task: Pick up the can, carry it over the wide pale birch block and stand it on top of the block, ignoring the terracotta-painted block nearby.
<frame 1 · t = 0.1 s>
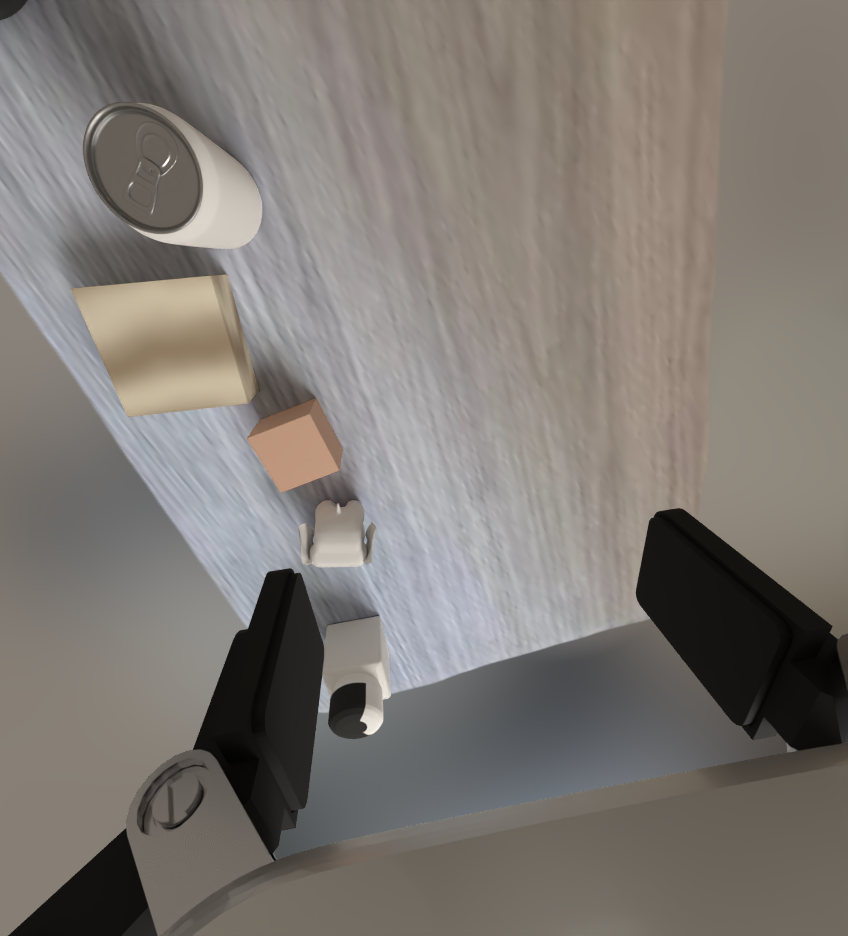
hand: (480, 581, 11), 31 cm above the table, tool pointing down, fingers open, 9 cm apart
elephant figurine: (341, 520, 46), on the table
birch block: (186, 342, 36), on the table
medicine bottle: (358, 636, 55), on the table
terracotta block: (302, 434, 41), on the table
can: (221, 203, 32), on the table
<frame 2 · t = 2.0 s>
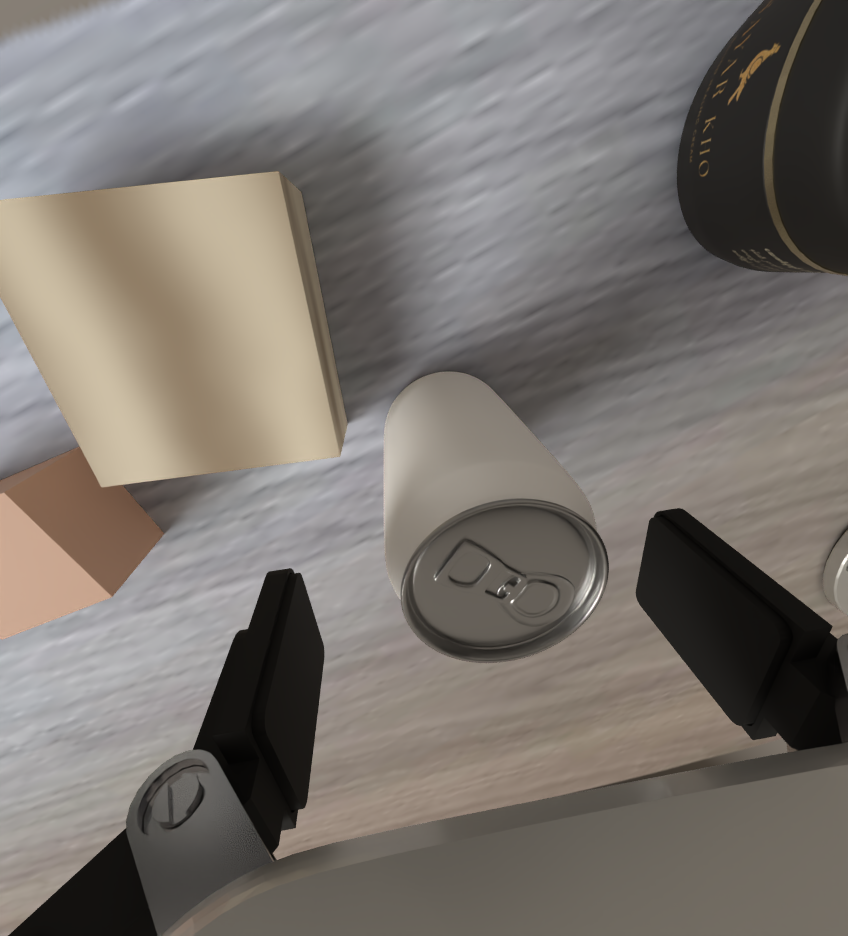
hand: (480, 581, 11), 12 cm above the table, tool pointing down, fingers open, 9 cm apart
jar: (771, 143, 17), on the table
birch block: (217, 335, 18), on the table
terracotta block: (80, 510, 22), on the table
can: (444, 428, 22), on the table
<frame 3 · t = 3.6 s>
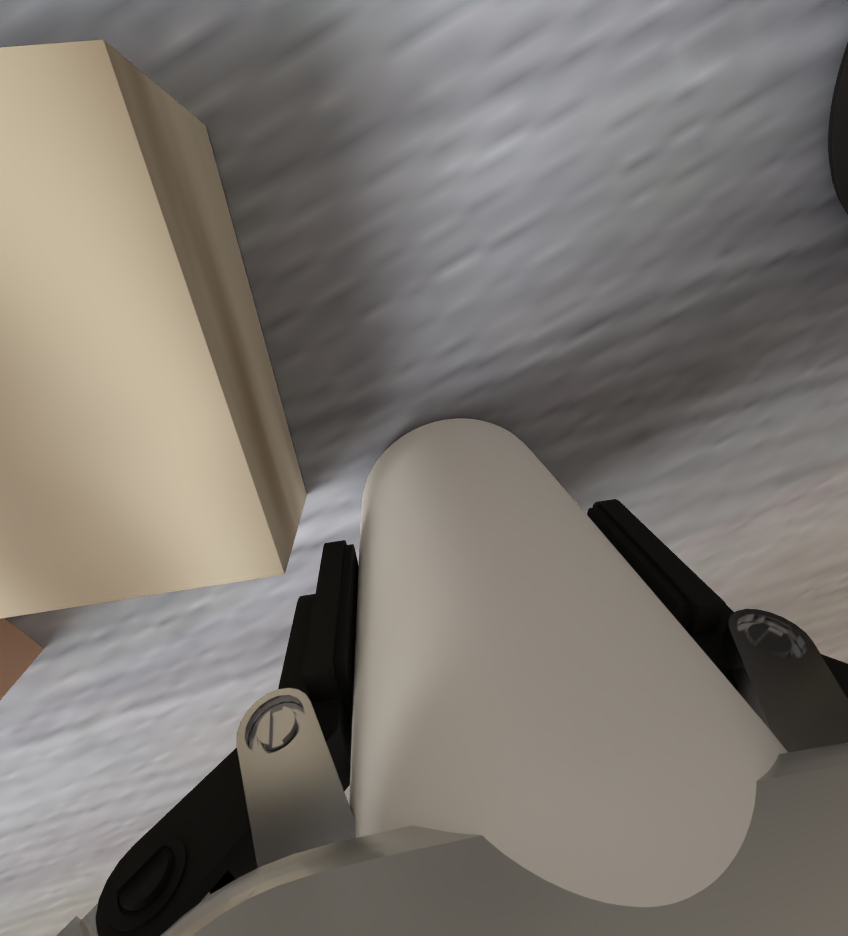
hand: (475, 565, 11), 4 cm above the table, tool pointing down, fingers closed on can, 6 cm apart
birch block: (85, 369, 11), on the table
can: (450, 495, 15), on the table, touching gripper
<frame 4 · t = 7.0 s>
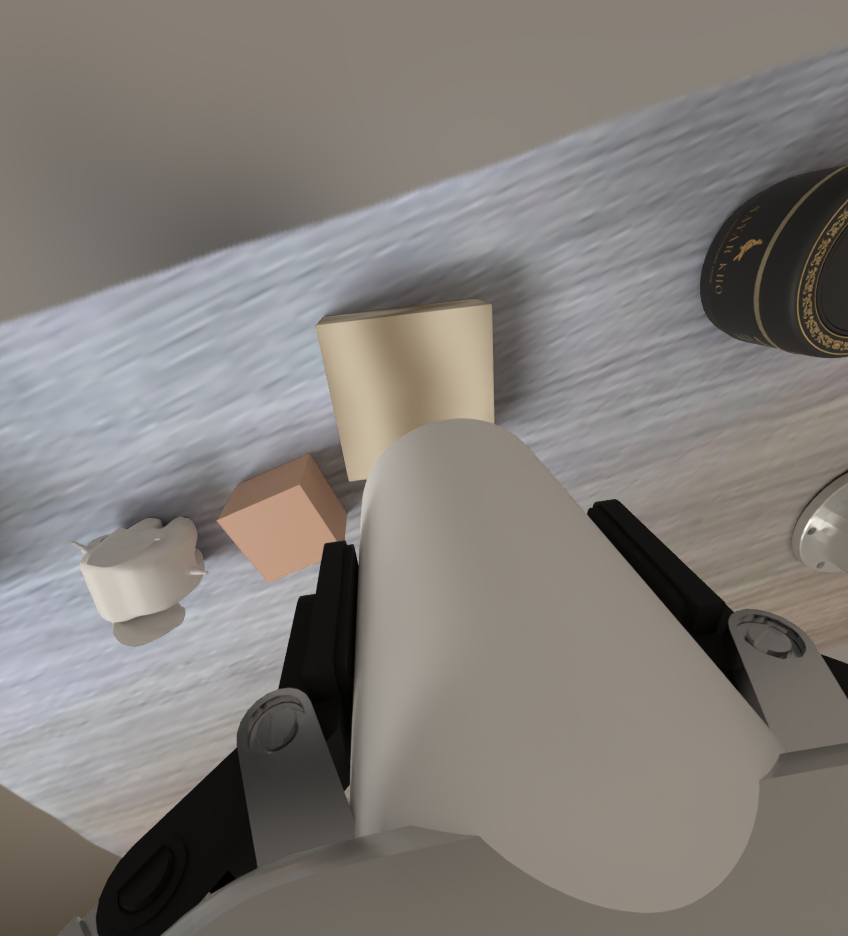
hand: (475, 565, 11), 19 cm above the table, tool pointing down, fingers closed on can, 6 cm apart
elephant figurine: (161, 539, 32), on the table
jar: (756, 264, 28), on the table
birch block: (409, 383, 28), on the table
terracotta block: (294, 498, 32), on the table
can: (450, 495, 15), point 16 cm above the table, touching gripper
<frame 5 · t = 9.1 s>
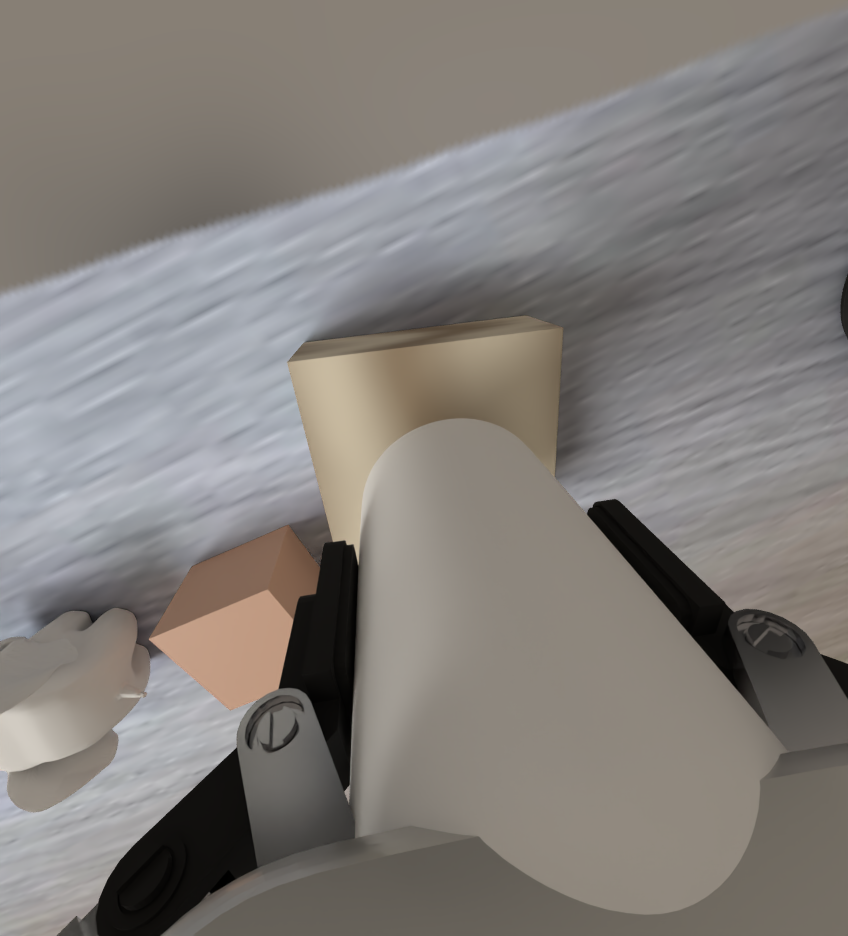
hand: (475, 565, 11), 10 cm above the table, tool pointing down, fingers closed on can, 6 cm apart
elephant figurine: (92, 635, 24), on the table
birch block: (427, 432, 20), on the table
terracotta block: (270, 581, 23), on the table
can: (450, 495, 15), point 6 cm above the table, touching gripper
when the fingers open (9 cm above the table, at t = 10.6 s): can drops 2 cm, resting on birch block.
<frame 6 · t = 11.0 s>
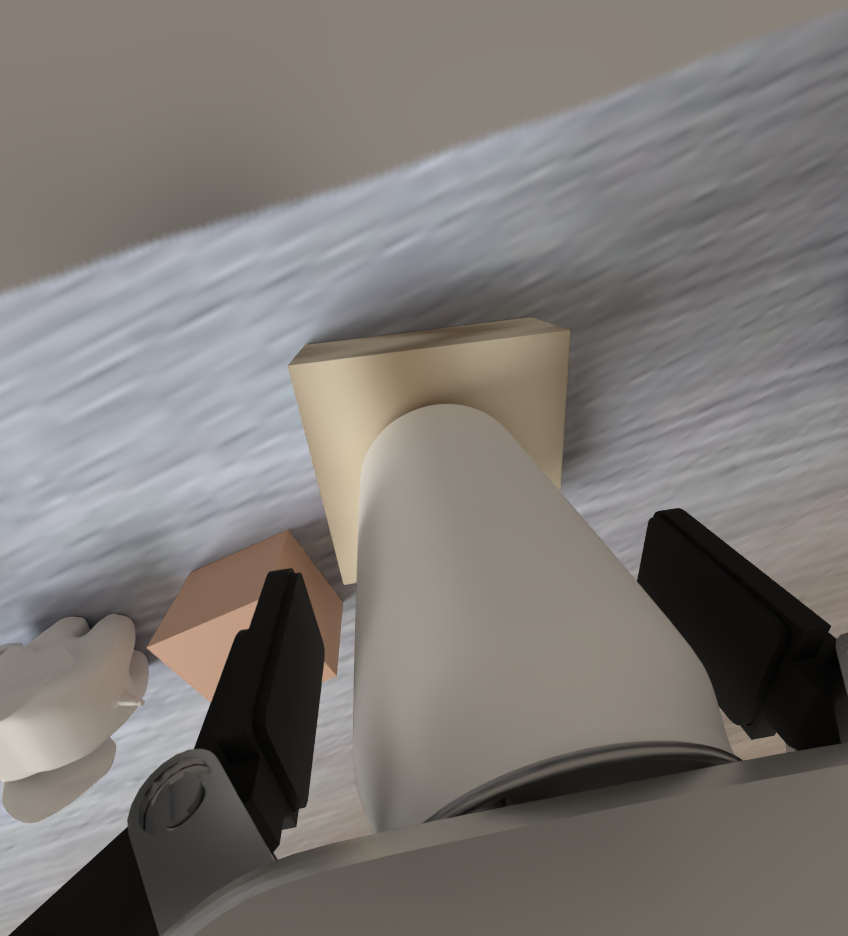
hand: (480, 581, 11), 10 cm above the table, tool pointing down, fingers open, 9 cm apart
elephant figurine: (90, 641, 24), on the table
birch block: (430, 435, 20), on the table
terracotta block: (270, 586, 23), on the table
can: (439, 474, 17), point 4 cm above the table, touching birch block
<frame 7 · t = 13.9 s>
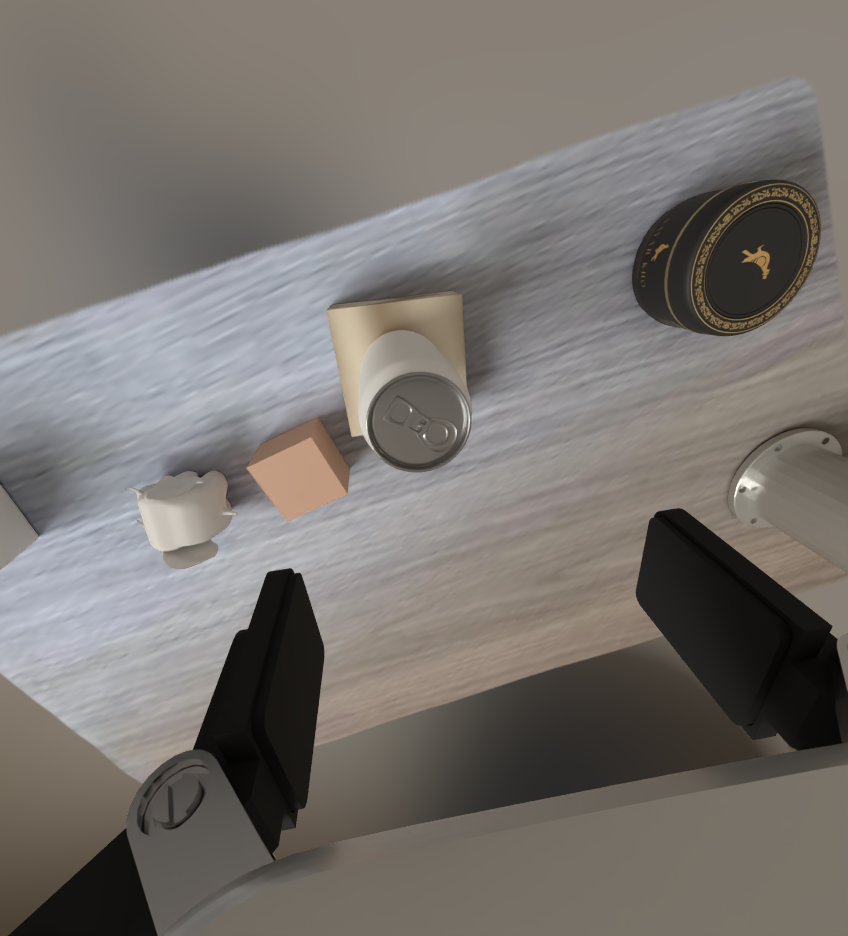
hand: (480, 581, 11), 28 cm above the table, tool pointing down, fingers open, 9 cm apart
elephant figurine: (196, 490, 39), on the table
jar: (678, 263, 35), on the table
birch block: (399, 359, 35), on the table
terracotta block: (306, 456, 39), on the table
can: (401, 371, 32), point 4 cm above the table, touching birch block
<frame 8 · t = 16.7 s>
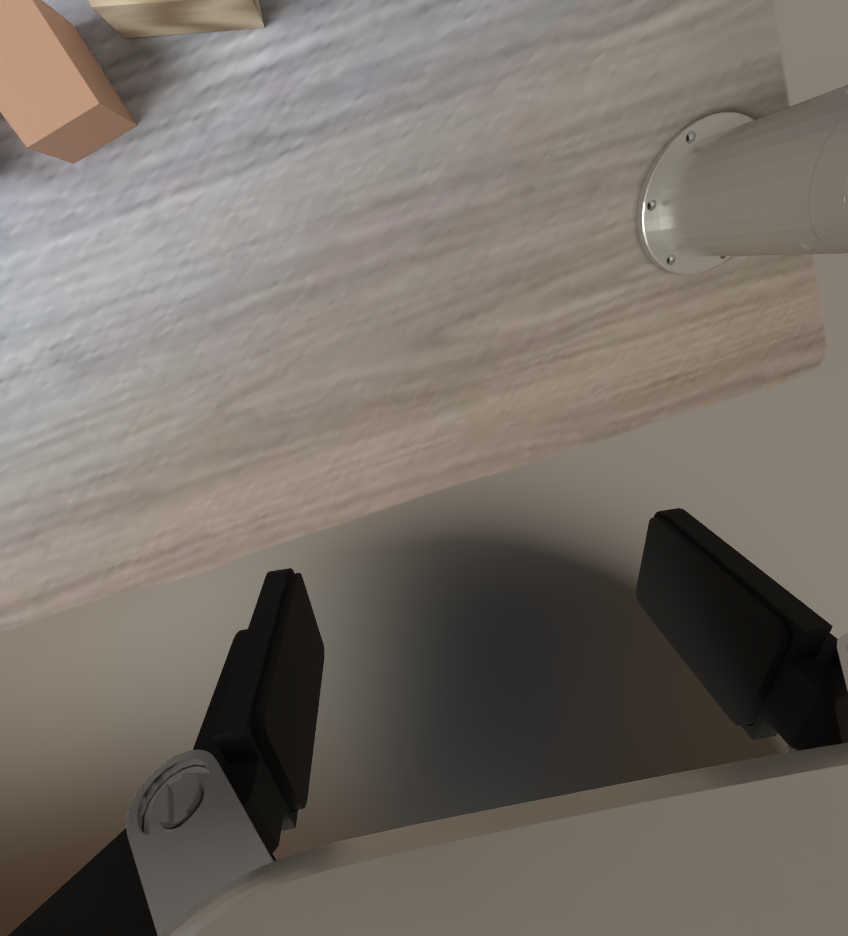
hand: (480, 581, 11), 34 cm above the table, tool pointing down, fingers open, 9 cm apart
terracotta block: (75, 99, 30), on the table
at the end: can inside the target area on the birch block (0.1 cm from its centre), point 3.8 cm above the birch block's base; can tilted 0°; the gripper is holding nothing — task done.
